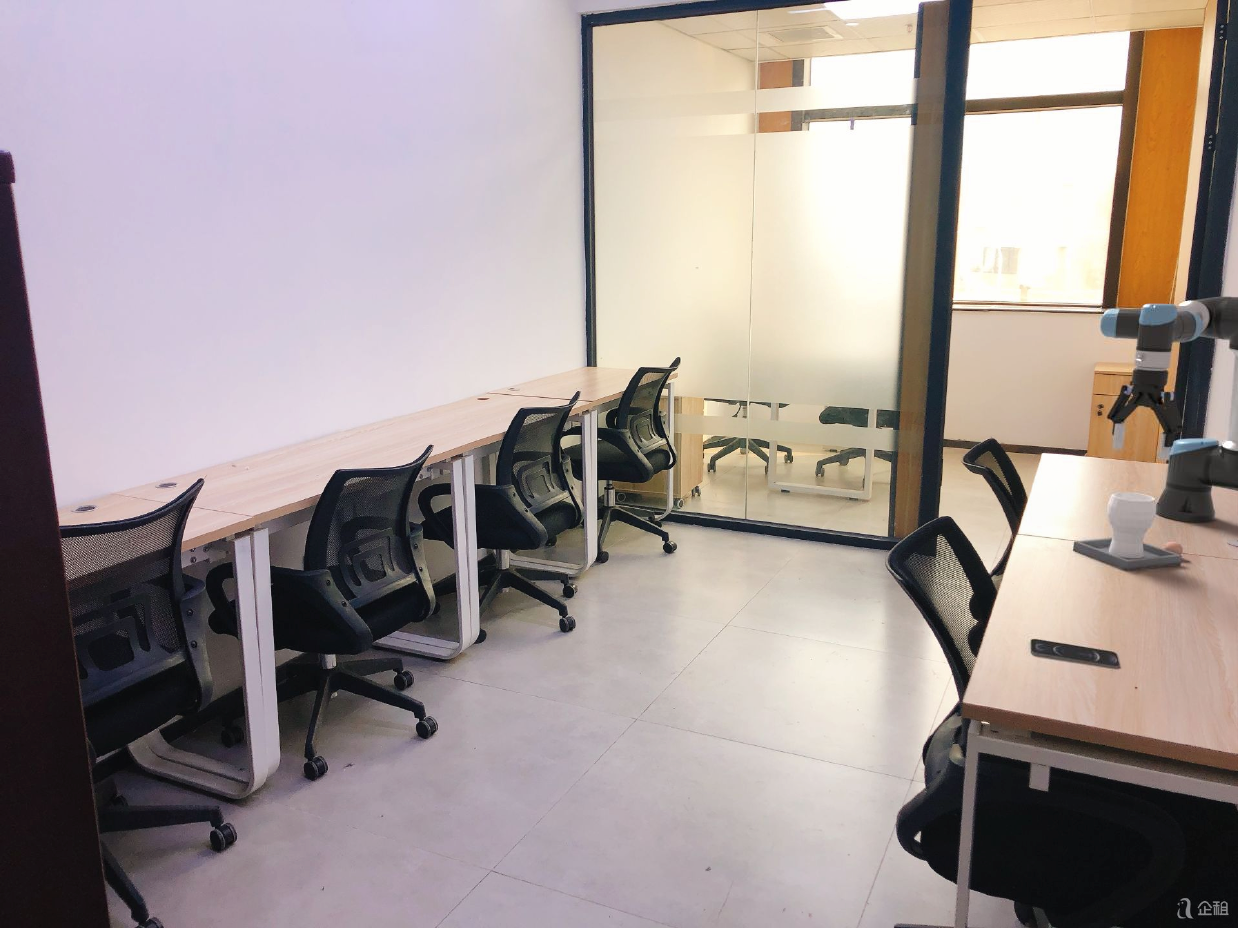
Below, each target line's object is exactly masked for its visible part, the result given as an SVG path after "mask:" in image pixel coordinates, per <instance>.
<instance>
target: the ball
mask: <svg viewBox="0 0 1238 928" xmlns="http://www.w3.org/2000/svg"><path fill="white" fill-rule="evenodd" d="M1163 549H1164V550H1167V551H1170V552H1173V553H1176V554H1179V555H1182V554H1183V546H1182V544H1180V543H1179V542H1177V541H1170V542H1169V541H1168V542H1167V543H1166V544H1165V545H1164V548H1163Z"/></svg>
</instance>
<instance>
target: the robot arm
mask: <svg viewBox="0 0 1238 928" xmlns="http://www.w3.org/2000/svg"><path fill="white" fill-rule="evenodd" d="M1099 327H1100V332H1101V334H1102V335H1103V336H1105V337H1106V338H1113V339H1123V340H1124V339H1126V340H1127V339H1128V340H1136V347H1135V353H1134V360H1133V361H1134V362H1133V366H1134V367H1135V368H1133V370H1132V376H1131V384H1123V385H1121V387H1120V393H1119V394H1118V396H1117V398H1116V400H1115V401H1114V403H1113V405H1112V407H1111V409H1110V410H1109V412H1108V414H1107V415H1106V419H1107V420H1110V421H1112V423H1113V424H1112V431H1111V432H1112V433H1111V434H1112V436H1113V439H1112V445H1111V446H1112V447H1111V450H1123V449H1124V442H1125V434H1126V426H1127V423H1126V420H1127V418H1128V417H1130V416H1131V415H1132V414H1133V412H1134V411H1135V410H1136V409H1138V408H1139V407H1145V408H1150V409H1151V411H1153V413H1154V415H1155V417H1156V420H1158V422H1159V424H1160V427H1161V428H1162V430H1163V432H1161V433H1160V439H1159V445H1158V451H1157V452H1158V454H1157V460H1156V461H1168V464H1167V470H1166V471H1167V472H1166V473H1167V474H1166V481H1165V487H1164V489H1163V491H1162V492H1161V495H1160V497H1159V499H1158V501H1157V502H1156V503H1155V504H1156V514H1155V515H1159V516H1161V517H1163V518H1167V519H1170V520H1177V521H1180V522H1181V521H1182V522H1190V523H1207V522H1208V523H1209V522H1213V521H1215V517H1216V511H1215V508H1214V502H1213V500H1214V499H1213V496H1212V489H1213V487H1216V488H1219V489H1220V488H1221V489H1227V490H1232V491H1236V492H1238V296H1214V297H1208V298H1202V299H1195V300H1187V301H1184V302H1182V303H1180V304H1179V305H1178V304H1177V305H1175V304H1172V303H1169V304H1168V303H1146V304H1144V305H1142V307H1139V308H1119V307H1118V308H1108V309H1107V310H1106V311H1104V313H1103V314H1102V316H1101V318H1100V325H1099ZM1198 337H1204V338H1208V339H1216V340H1223V341H1229V345H1228V346H1229V347H1228V349H1229V350H1230V351H1231V352H1232V353H1233V354H1234V363H1233V364H1234V366H1233V374H1232V375H1233V377H1232V387H1231V397H1230V411H1229V424H1228V435H1227V438H1226V439H1225V440H1223V441H1222V442H1221V443H1220V441H1219V440H1218V439H1214V438H1181V439H1177V440H1175V435H1176V434H1178V433H1183V432H1184V425H1183V422H1182V418H1181V414H1180V411H1179V407H1178V403H1177V393H1176V391H1165V386H1167V384H1168V378H1169V370H1167V369H1169V368H1170V366H1171V365H1170V364H1171V357H1172V349H1173V348H1172V347H1173V343H1182V344H1183V343H1186V342H1191V341H1194V340H1195V339H1197V338H1198Z"/></svg>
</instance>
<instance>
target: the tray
mask: <svg viewBox="0 0 1238 928" xmlns="http://www.w3.org/2000/svg"><path fill="white" fill-rule="evenodd" d="M1112 539H1113V537H1107V538H1096V539H1095V538H1094V539H1086V540H1077V541H1076V540H1075V541H1073V549H1072V551H1074V552H1076V553H1079V554H1081V555H1084V556H1087V557H1089V558H1091V559H1094V560H1096V561H1100V562H1103V563H1105V564H1108V565H1110V566H1113V567H1115V568H1118V569H1120V570H1123V571H1126V572H1128V571H1139V570H1147V569H1156V568H1164V567H1173V566H1175V567H1176V566H1181V565H1182V559H1183V555H1182V554H1181V555H1179V554H1176V553H1173V552H1170V551H1167V550H1164V548H1161V547H1158V546H1155V545H1152V544H1149V543H1146V542H1144V541H1143V557H1142V558H1124V557H1119V556H1116V555H1113V554H1111V553H1109V548H1110V545H1111V542H1112Z"/></svg>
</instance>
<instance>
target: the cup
mask: <svg viewBox="0 0 1238 928" xmlns="http://www.w3.org/2000/svg"><path fill="white" fill-rule="evenodd" d="M1156 504H1157V503H1156V499H1155V497H1153V496H1151V495H1147V494H1143V493H1137V492H1130V491H1129V492H1128V491H1127V492H1125V491H1120V492H1118V491H1117V492H1114V493H1112V494H1111V496H1110V498H1109V501H1108V503H1107V510H1106V512H1107V518H1108V522H1109V524H1110V526H1111V529H1112V531H1111V532H1112V537H1111V538H1113V539H1112V542H1111V545H1110V548H1109V553H1111V554H1113V555H1116V556H1119V557H1124V558H1142V557H1143V542H1144V539H1145V535H1146V533H1147V532H1148V530H1149V529H1150V527H1151V526H1152V524H1153V522H1154V520H1155V518H1156V515H1157V514H1156Z"/></svg>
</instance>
